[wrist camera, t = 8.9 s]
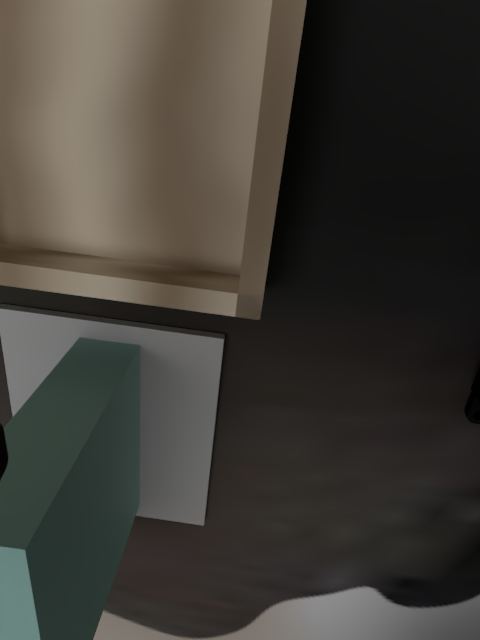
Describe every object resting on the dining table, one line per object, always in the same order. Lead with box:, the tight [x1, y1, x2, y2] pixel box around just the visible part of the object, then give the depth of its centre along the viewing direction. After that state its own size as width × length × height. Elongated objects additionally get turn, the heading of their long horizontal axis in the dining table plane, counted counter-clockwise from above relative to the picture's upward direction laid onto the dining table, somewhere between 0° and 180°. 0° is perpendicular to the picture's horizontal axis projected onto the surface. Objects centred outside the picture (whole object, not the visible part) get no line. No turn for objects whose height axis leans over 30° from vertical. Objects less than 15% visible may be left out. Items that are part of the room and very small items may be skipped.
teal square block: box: [0, 337, 140, 640], centre depth 19 cm, size 3×11×11 cm, turn 174°
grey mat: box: [0, 304, 225, 526], centre depth 24 cm, size 11×13×1 cm
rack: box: [0, 0, 307, 320], centre depth 16 cm, size 20×16×3 cm
